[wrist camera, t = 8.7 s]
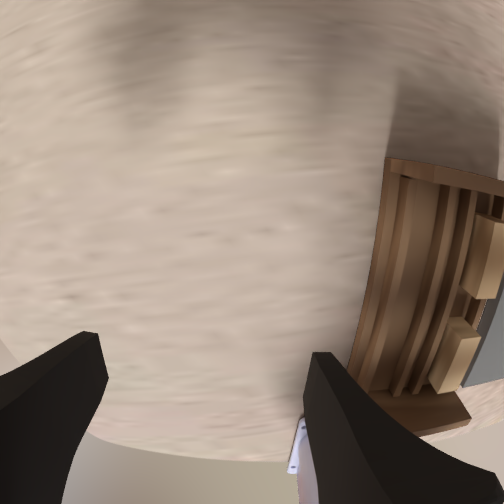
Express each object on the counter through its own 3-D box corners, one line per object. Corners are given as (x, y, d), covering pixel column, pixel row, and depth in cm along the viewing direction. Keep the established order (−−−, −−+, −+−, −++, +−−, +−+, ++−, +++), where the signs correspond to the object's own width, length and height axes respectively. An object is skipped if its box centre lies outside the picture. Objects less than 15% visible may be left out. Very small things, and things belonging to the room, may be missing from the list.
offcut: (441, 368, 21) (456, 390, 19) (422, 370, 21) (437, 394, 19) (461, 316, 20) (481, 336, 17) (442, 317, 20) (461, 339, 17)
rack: (440, 380, 23) (467, 425, 17) (340, 391, 23) (356, 446, 17) (497, 180, 17) (553, 196, 12) (385, 157, 17) (435, 164, 12)
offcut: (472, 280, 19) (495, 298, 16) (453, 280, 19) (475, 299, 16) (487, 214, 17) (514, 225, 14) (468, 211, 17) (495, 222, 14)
